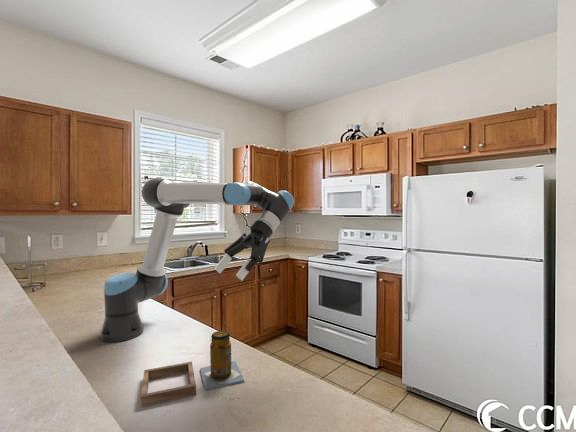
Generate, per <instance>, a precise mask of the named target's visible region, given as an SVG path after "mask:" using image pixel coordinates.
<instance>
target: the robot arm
mask: <svg viewBox="0 0 576 432" xmlns="http://www.w3.org/2000/svg"><path fill="white" fill-rule="evenodd" d="M141 196H142V200H143V201H144V202H145V203H146V204H147V205H148V206H150V207H152V208H154V211H155V212H156V214H155V217H154V222H153V226H152V229H151V233H150V235H149V239H148V243H147V246H146V250H145V254H144V258H143V262H142V264H139V265H138V266H137V268H136V272H135V273H134V272H128V273H127V272H126V273H119V274H115V275H112V276H110V277H108V278H107V279H106V280H105V282H104V289H103V294H104V295H103V296H104V316H105V317H104V320H103V323H102V327H101V330H100V334H99V335H100V340H101V341H103V342H107V343H115V342H116V343H117V342H123V341H127V340H132V339H134V338H137V337H138V336H140V335H142V334H143V332H144V324H143V322H142V318H141V317H140V314H139V303H144V302H146V301H147V300H150V299H151V300H152V299H154V298H156V297H159V296H160V295H162V294H163V293H164V292H165V291H166V289H168V285H169V284H168V283H169V280H168V276H167V274H166V269H165V268H164V266H165V263H166V259H167V256H168V252H169V250H170V246H171V242H172V240H173V239H172V238H173V236H174V231H175V229H176V225H177V222H178V218H180V217H182V216H183V214H184V211H185V209H186V208H188V207H189V206H190V205H191V204H193V205H221V206H223V205H227V206H229V205H230V206H235V207H236V206H255V207H258V208H259V209H261V210H263V211H262V212H261V214H259V216H258V217H257V219H256V220H255V221H254V222H253V224H252V225H251V226H250V233H249V234H247V233H246V232H244V233H243V234H242V235H241V236H240V237H239V238H238V239H236V240H235V241H234V242H233V243H231V244H230V245H229V246H227V247H226V248H225V249H223V252H224V253H225V254H224V255H223V257H222V258H221V260H220V261H219V262H218V263H217V265H216V266H214V270H215V271H216V272H217V273H218V274H221V273H222V272H223V271H224V270H225V269H226V267H228V265H229V263H231V261H232V260H233V257H234V256H236V255H238V254H239V253H241V252H242V251H243V250H247V249H251V250H250V251H251V252H250V256H249V257H248V258H247V259H246V261H245V262H244V263H243V265H242V266H241V267H240V268H239V270H238V271H237V272H236V274H235V276H236V277H237V278H238V279H239V280H240V281H241V282H243V280H244V279H245V278H246V276H247V275H248V274H249V273H250V271H251V270H253V267H254V266H255V265H257V264H258V263H259V264H262V262H263V261H264V258H265V255H266V252H267V248H268V246H269V244H270V243H271V239H270V238H271V236H272V235H273V233H274V232H275V231H276V230H277V229H278V226H279V225H281V222H282V221H283V220H284V219H285V218H286V217H287V215H288V213H290V212H291V210H292V208H293V207H294V205H295V203H296V202H295V198H294V197H293V195H292V194H291V193H290V192H288V191H287V190H279V191H278V192H277V193H276V192H274V191H272V190H269V189H267V188H265V187H264V186H261V185H260V184H258V183H255V182H254V181H250V180H249V181H247V182H245V183H243V182H238V181H236V182H235V181H234V182H230V183H229V182H184V181H181V180H177V179H167V178H160V177H159V178H157V177H156V178H151V179H149V180H147V181H145V183H144V184H143V186H142V188H141Z"/></svg>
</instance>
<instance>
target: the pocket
mask: <svg viewBox="0 0 576 432" xmlns="http://www.w3.org/2000/svg"><path fill="white" fill-rule="evenodd" d="M186 373H187V374H188V379H189V384H187V385H186V384H185V385H182V386H177V387H172V388H167V389H162V390H157V391H151V392H148V391H149V381H150V380H155V379H159V378H165V377H170V376H176V375H180V374H186ZM142 377H143V379H142V385H141V386H142V387H141V392H140V407H141V408H142V407H147V406H152V405H157V404H161V403H165V402H169V401H170V402H171V401H175V400H180V399H184V398H189V397H192V396H193V397H194V396H196V395H197V383H196V377H195V372H194V367H193V361H187V362H182V363H176V364H172V365H171V364H169V365H166V366H160V367H154V368H149V369H145V370H144V371H143V376H142Z"/></svg>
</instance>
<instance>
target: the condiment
mask: <svg viewBox="0 0 576 432" xmlns="http://www.w3.org/2000/svg"><path fill="white" fill-rule="evenodd" d="M210 341H211V342H210V344H209V347H210V348H209V349H210V352H209V355H210V357H209V358H210V361H209V362H210V366H211V371H210V372H207V373H205V375H206V376H207V377H209V378H211V379H212V380H214V381H216V382H217V383H219V384H222V383H225V382H227V381H229V380H231V379H234V378H235V377H238V376H239V375H241V374H242V373H241V374H240V373H238V372H236V371H234V370H232V369H231V362H232V343H231V339H230V332H229V331H225V330H218V331H217V330H216V331H215V332H213V333H212V334H211V338H210Z"/></svg>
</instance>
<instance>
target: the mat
mask: <svg viewBox="0 0 576 432" xmlns="http://www.w3.org/2000/svg"><path fill="white" fill-rule="evenodd" d="M231 369H232V370H234V371H236V372H238V373H240V374H241V375H239V376H238V377H235V378H234V379H231V380H229V381H227V382H225V383H222V384H219V383H217V382H216V381H214V380H212V379H211V378H209V377H207V376H206V375H205V373H207V372H210V371H211V365H209V366H204V367H203V366H202V367H200V368H199V371H200V376H201V381H202V385H203V389H204V391H208V390H213V389H218V388H223V387H227V386H232V385H236V384H240V383H245V379H244V376H243V374H242V372H241V370H240V368H239V366H238V364H237V362H236V361H231Z"/></svg>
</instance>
